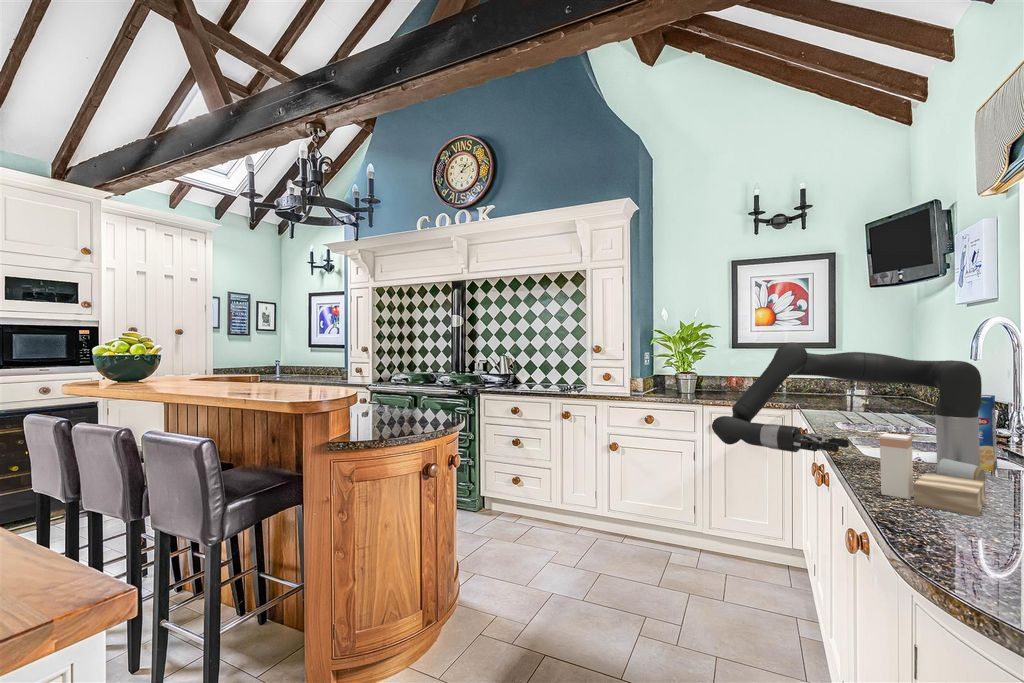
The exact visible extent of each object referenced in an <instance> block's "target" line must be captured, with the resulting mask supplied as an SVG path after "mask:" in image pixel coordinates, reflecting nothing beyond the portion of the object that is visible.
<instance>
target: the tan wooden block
mask: <svg viewBox="0 0 1024 683" xmlns="http://www.w3.org/2000/svg"><path fill="white" fill-rule="evenodd" d="M913 490H914V495H913V505H915V506H920V507H925V508H931V509H936V510H941V511H948V512H952V513H958V514H963V515H967V516H968V515H969V516H974V517H979V515H980V513H981V511H982V509H983V508H984V506H985V504H986V503H987V502H986V480H985V481H978V480H971V479H964V478H957V477H950V476H943V475H936V474H935V473H927V472H925V473H924V474H922V475H921V476H920V477H919V478H918V479H917V480H915V481H914V482H913Z"/></svg>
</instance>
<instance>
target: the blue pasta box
mask: <svg viewBox="0 0 1024 683" xmlns="http://www.w3.org/2000/svg"><path fill="white" fill-rule="evenodd" d="M978 420H979V445H980V467H981V468H982V469H983V470H984V471H990V472H991V471H992V472H994V471H996V469H997V468H998V453H997V452H998V449H997V423H996V422H997V421H996V395H993V394H992V395H991V394H981V407H980V409H979V412H978Z"/></svg>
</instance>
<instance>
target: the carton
mask: <svg viewBox="0 0 1024 683" xmlns="http://www.w3.org/2000/svg"><path fill="white" fill-rule="evenodd" d="M878 439H879V442H878V443H879V456H880V457H879V458H880V460H879V462H880V485H881V486H880V488H881V490H880V492H881V495H884V496H889V497H895V498H901V499H906V500H910V499H911V498H912V497H913V496H914V487H913V484H914V467H913V465H914V464H913V463H914V462H913V460H914V459H913V437H912V435H909V434H908V435H906V434H896V433H886V432H884V433H883V434H880V435H879V438H878Z"/></svg>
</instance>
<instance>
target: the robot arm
mask: <svg viewBox="0 0 1024 683" xmlns="http://www.w3.org/2000/svg"><path fill="white" fill-rule="evenodd" d="M790 376H817V377H825V378H830V379H832V378H833V379H837V380H839V379H840V380H847V381H853V382H862V383H870V384H886V385H887V384H911V385H917V386H918V385H919V386H925V387H930V388H934V389H938V390H939V391H938V392H939V393H938V394H939V395H938V398H939V399H938V402H937V404H936V405H935V406H934V413H935V414H934V416H935V440H936V443H935V444H936V445H935V446H936V467H937V466H938V463H939V461H940V460H941V459H949V460H953V461H958V462H962V463H967V464H972V465H976V466H979V467H980V445H979V420H978V412H979V409H980V407H981V395H982V388H983V387H982V385H983V384H982V376H981V373H980V371H979V369H978V368H977V367H976V366H975V365H973V363H970V362H967V361H963V360H953V359H952V360H950V359H949V360H947V359H946V360H916V359H909V358H908V359H907V358H903V357H900V356H899V357H898V356H894V355H889V354H888V355H887V354H882V353H873V352H861V351H848V352H847V351H845V352H837V353H828V354H820V353H812V352H807V349H806V348H805V347H804V346H803V345H802V344H800V343H797V342H785V343H784V344H782V345H780V346H779V347H778V348H777V349H776V351H775V353H774V355H773V358H772V360H771V361H770V362H769V364H768V366H767V367H766V368H765V370H763V372H762V374H760V376H759V377H758V378H757V379H756V380H755V381H754V382H753V384H751V386H749V388H748V389H746V391H745V392H744V393H743V394H742V395H741V396H740V397H739V399H738V400H737V401H736V402H735V403H734V404H733V405H732V406H731V407H732V408H731V411H732V416H729V415H722V416H721V415H720V416H719V417H716V418H715V419H714V420H713V421H712V423H711V429H712V431H713V432H714V434H715V435H716V436H717V437H718V438H719V440H720V441H721V442H723V443H724V444H726V445H735V444H736V443H738V442H740V441H743V442H744V443H746V444H748V445H750V446H751V445H752V446H757V447H763V448H768V449H770V450H771V449H772V450H778V451H784V452H790V453H798V452H799V451H800V450H806V451H812V452H820V451H826V452H833V453H838V452H839V451H840V448H846V449H847V448H849V447H850V441H849V439H847V438H846V439H845V438H839V437H838V438H837V437H834V436H833V435H829V434H828V435H827V434H821V433H820V434H819V433H813V432H812V433H809V432H808V433H806V434H803V433H802V431H801V429H800V428H799V427H798V426H794V425H793V426H792V425H783V424H777V423H776V424H775V423H761V422H752V420H753V419H755V417H756V416H757V414H759V412H761V410H762V409H763V408H764V407H765V405H766V404H767V403H768V401H770V400H771V398H772V397H773V395H774V394H775V392H776V390H778V388H779V387H780V385H781V384H783V382H785V381H786V379H788V377H790ZM826 440H827V441H826Z"/></svg>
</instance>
